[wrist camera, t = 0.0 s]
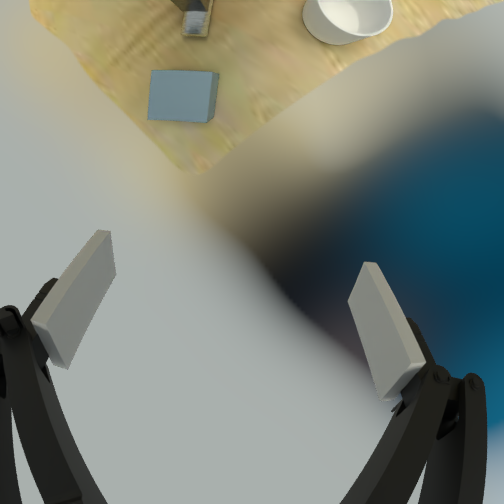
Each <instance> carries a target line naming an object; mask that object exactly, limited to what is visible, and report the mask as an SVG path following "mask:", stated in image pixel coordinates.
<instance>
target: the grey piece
mask: <svg viewBox="0 0 504 504" xmlns="http://www.w3.org/2000/svg"><path fill="white" fill-rule="evenodd" d="M171 1H172V2H173V3H174V4H175V5H176V6H178V7H179V8H180V9H181V10H182V11H183V12H184V18H183V24H182V30H181V35H184V36H191V37H205V36H207V33H208V27H209V21H210V15H211V9H212V4H213V0H171Z"/></svg>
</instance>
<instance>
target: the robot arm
mask: <svg viewBox="0 0 504 504" xmlns="http://www.w3.org/2000/svg"><path fill="white" fill-rule="evenodd" d="M115 276H116V270H115V263H114V256H113V248H112V240H111V232H110V231H104V230H97V231H96V233H95V234H94V235H93V236H92V237H91V238H90V240H89V241H88V242H87V243H86V245H85V246H84V247H83V248H82V249H81V251H80V252H79V253H78V254H77V256H76V257H75V258H74V259H73V261H72V262H71V263H70V265H69V266H68V267H67V269H66V270H65V271H64V272H63V274H62V275H61V277H60V278H59V279H57V278H52V279H51V280H50V281H48V282H47V283H45V284H44V286H43V287H42V288H41V290H40V291H39V293H38V294H37V295H36V297H35V299H34V300H33V301H32V302H31V304H30V305H29V307H28V308H27V310H26V311H25V312H24V314H23V315H22V317H21V315H20V312H19V310H18V308H16V307H15V306H12V305H8V306H4V307H2V308H0V504H22V501H21V496H20V491H19V486H18V480H17V474H16V467H15V459H14V449H13V437H12V417H11V407H12V411H13V416H14V420H15V423H16V427H17V430H18V434H19V437H20V441H21V444H22V447H23V450H24V453H25V456H26V459H27V462H28V465H29V467H30V470H31V472H32V475H33V477H34V480H35V482H36V485H37V487H38V489H39V492H40V494H41V496H42V498H43V501H44V504H107V502H106V500H105V498H104V497H103V495H102V493H101V492H100V490H99V488H98V486H97V485H96V483H95V481H94V479H93V478H92V476H91V474H90V472H89V470H88V468H87V466H86V464H85V462H84V460H83V458H82V456H81V454H80V452H79V450H78V448H77V445H76V443H75V441H74V439H73V436H72V434H71V432H70V429H69V427H68V424H67V422H66V419H65V417H64V414H63V411H62V409H61V406H60V403H59V400H58V398H57V395H56V392H55V389H54V385H53V382H52V379H51V376H50V372H49V369H48V366H47V365H46V362H47V360H48V357H49V358H50V359H51V361H52V363H53V365H55V366H58V367H61V368H65V369H68V368H69V366H70V364H71V361H72V359H73V357H74V355H75V353H76V351H77V348H78V346H79V344H80V342H81V340H82V338H83V336H84V334H85V332H86V330H87V328H88V326H89V324H90V322H91V320H92V318H93V316H94V314H95V312H96V310H97V309H98V307H99V305H100V303H101V301H102V299H103V297H104V296H105V294H106V292H107V290H108V288H109V286H110V285H111V283H112V281H113V279H114V278H115ZM348 303H349V306H350V308H351V312H352V315H353V318H354V320H355V323H356V326H357V329H358V332H359V335H360V338H361V341H362V345H363V348H364V351H365V354H366V357H367V360H368V364H369V367H370V370H371V373H372V377H373V380H374V384H375V387H376V390H377V394H378V398H379V401H387V400H394V399H395V398H396V397H397V396H398V395H399V393H400V392H401V395H402V398H403V399H402V400H401V401H400V402H399V403H398V404H397V405H396V406H395V407H394V408H393V409H392V411H391V412H393V411H395V412H394V415H393V416H392V419H391V420H390V422H389V424H388V426H387V428H386V430H385V432H384V434H383V436H382V438H381V439H380V441H379V443H378V445H377V447H376V448H375V450H374V452H373V454H372V455H371V457H370V459H369V461H368V462H367V464H366V465H365V467H364V469H363V470H362V472H361V473H360V475H359V476H358V478H357V479H356V481H355V482H354V484H353V486H352V487H351V488H350V490H349V491H348V493H347V494H346V496H345V497H344V499H343V500H342V501H341V503H340V504H407V502H408V500H409V498H410V496H411V494H412V492H413V490H414V488H415V486H416V484H417V482H418V480H419V477H420V475H421V473H422V470H423V468H424V466H425V464H426V461H427V464H426V469H425V474H424V479H423V484H422V489H421V493H420V498H419V502H418V504H482V503H483V496H484V487H485V477H486V462H487V411H486V395H485V386H484V382H483V381H482V379H481V378H480V377H479V376H478V375H476V374H475V373H468V374H467V375H466V376H465V377H464V378H463V379H458V378H453V377H451V375H450V374H449V372H448V370H446V369H445V368H444V367H442V366H440V365H436V363H435V361H434V359H433V356H432V354H431V352H430V350H429V348H428V346H427V344H426V342H425V340H424V338H423V336H422V335H421V331H420V329H419V327H418V325H417V324H416V323H415V322H414V321H413V320H412V319H411V318H405V316H404V314H403V312H402V310H401V308H400V306H399V304H398V302H397V300H396V298H395V296H394V294H393V292H392V291H391V289H390V287H389V285H388V283H387V281H386V279H385V278H384V276H383V274H382V272H381V271H380V269H379V267H378V265H377V264H376V263H370V262H364V264H363V266H362V269H361V271H360V274H359V276H358V279H357V281H356V284H355V286H354V288H353V291H352V293H351V295H350V298H349V300H348ZM458 416H459V417H458Z"/></svg>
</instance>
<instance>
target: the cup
mask: <svg viewBox="0 0 504 504" xmlns="http://www.w3.org/2000/svg"><path fill="white" fill-rule="evenodd" d="M302 16H303V21H304V24H305V26H306V28H307V29H308V31H309V32H310V33H311V34H312V35H313V36H314V37H316V38H317V39H319V40H320V41H322V42H325V43H328V44H332V45H345V44H349V43H352V42H355V41H358V40H361V39H364V38H367V37H370V36H374V35H377V34H379V33H381V32H383V31H384V30H385V29H386V28H387V27H388V26H389V25H390V23H391V21H392V17H393V6H392V2H391V0H307V1H306V3H305V5H304V7H303V13H302Z"/></svg>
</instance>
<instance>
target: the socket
mask: <svg viewBox="0 0 504 504" xmlns="http://www.w3.org/2000/svg"><path fill="white" fill-rule="evenodd" d="M218 80H219V74H218V73H215V72H206V71H184V70H152V73H151V83H150V94H149V107H148V120H171V121H188V122H202V123H207V122H208V121H209V120H211V119H212V118H213V117H214V111H215V103H216V95H217V87H218Z"/></svg>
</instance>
